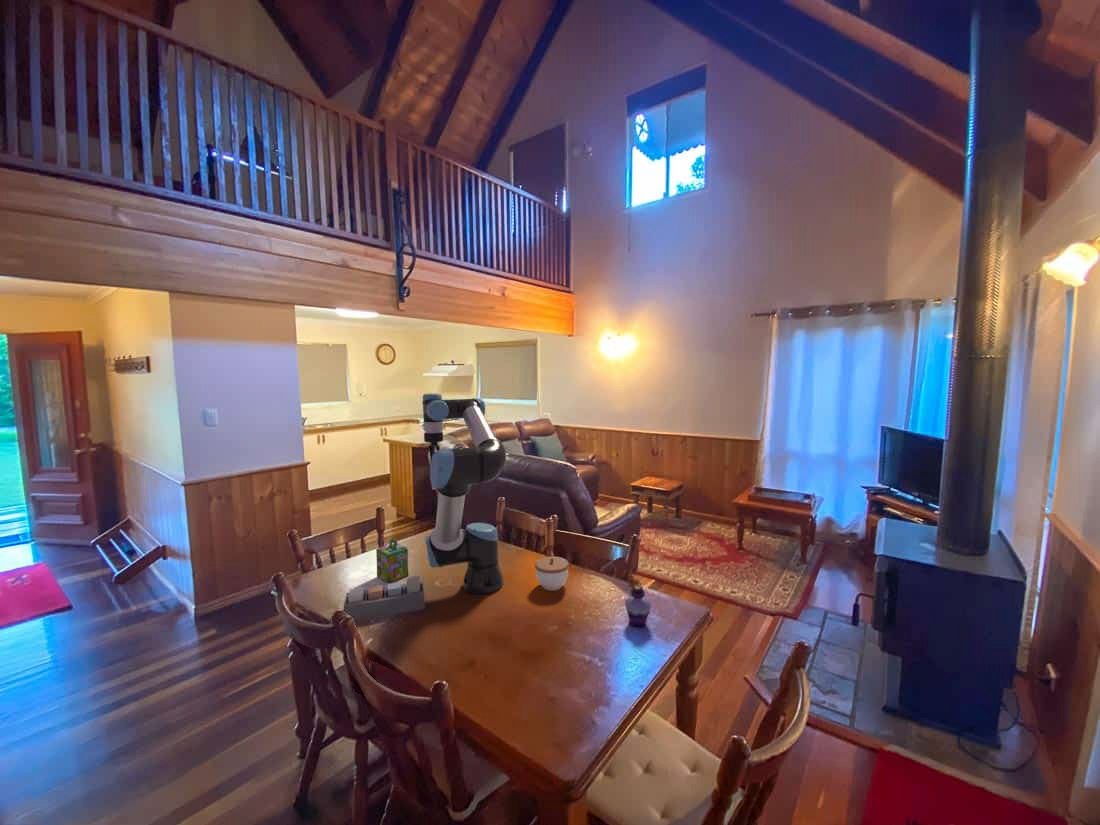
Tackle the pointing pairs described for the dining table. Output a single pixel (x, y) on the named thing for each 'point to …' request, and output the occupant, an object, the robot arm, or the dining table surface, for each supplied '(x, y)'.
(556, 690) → the dining table surface
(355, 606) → the console
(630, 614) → the potion bottle
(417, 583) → the sage key
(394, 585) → the slate key
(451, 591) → the dining table surface
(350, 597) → the ivory key
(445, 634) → the dining table surface
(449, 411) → the robot arm
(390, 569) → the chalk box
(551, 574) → the lidded bowl
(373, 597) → the terracotta key
